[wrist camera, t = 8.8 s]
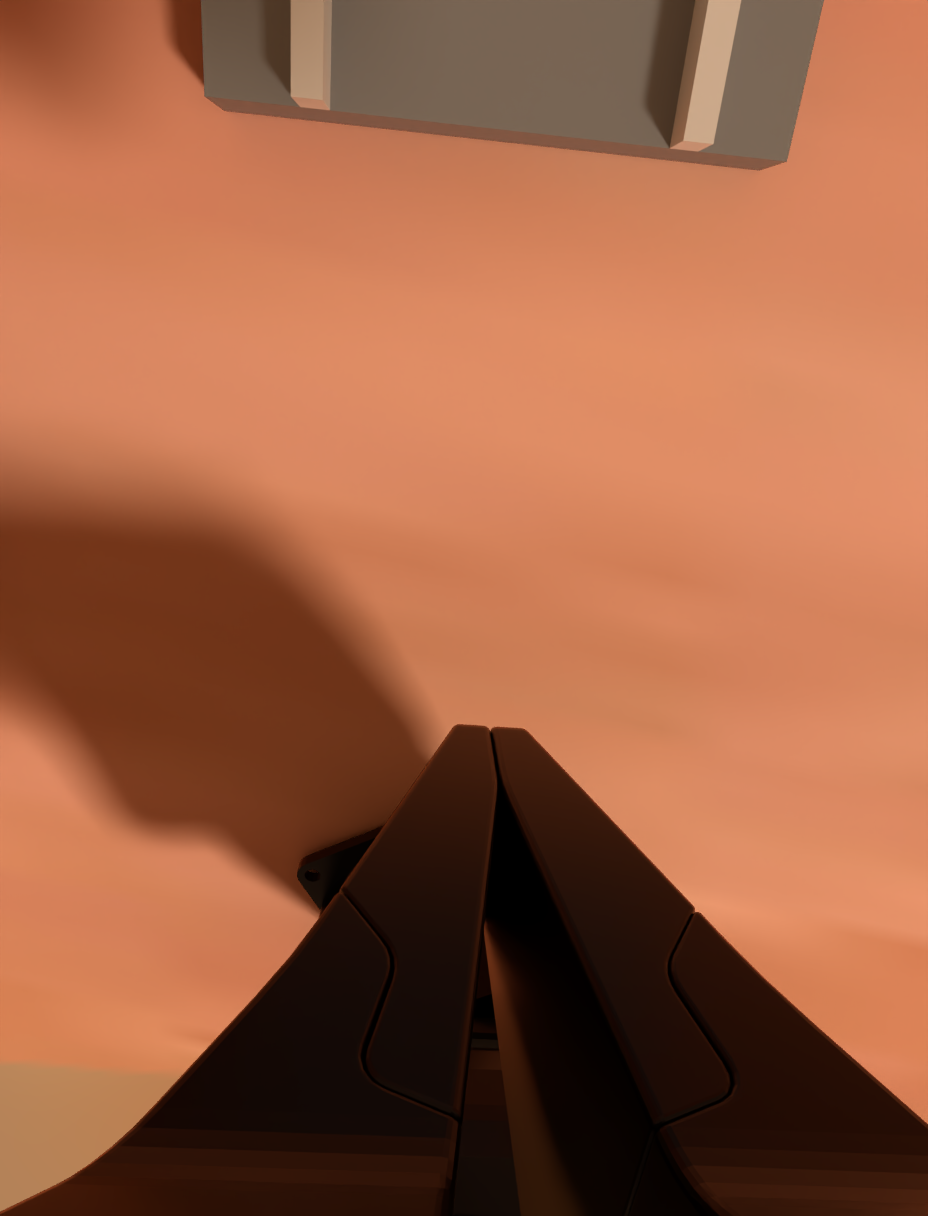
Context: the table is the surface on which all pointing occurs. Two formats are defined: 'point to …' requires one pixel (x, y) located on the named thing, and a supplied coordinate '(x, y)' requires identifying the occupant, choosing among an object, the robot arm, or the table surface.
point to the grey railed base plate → (527, 70)
